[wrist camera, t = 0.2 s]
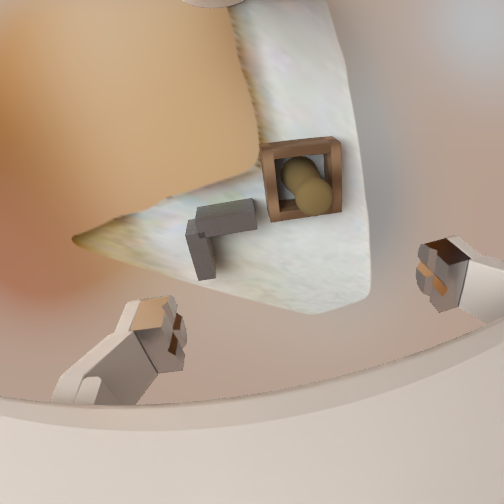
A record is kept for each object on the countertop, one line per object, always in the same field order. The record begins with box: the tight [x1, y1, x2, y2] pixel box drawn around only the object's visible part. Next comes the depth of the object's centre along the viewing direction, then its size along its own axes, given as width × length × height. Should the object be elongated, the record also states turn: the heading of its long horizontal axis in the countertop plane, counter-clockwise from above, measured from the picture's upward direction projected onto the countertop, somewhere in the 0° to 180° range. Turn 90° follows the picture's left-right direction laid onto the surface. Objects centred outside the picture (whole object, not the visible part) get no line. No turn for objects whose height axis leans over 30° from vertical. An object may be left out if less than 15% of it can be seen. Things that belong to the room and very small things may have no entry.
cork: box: [280, 156, 334, 216], centre depth 43 cm, size 6×6×11 cm
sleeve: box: [259, 136, 342, 222], centre depth 46 cm, size 12×12×4 cm
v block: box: [185, 198, 257, 281], centre depth 49 cm, size 8×16×5 cm, turn 143°
